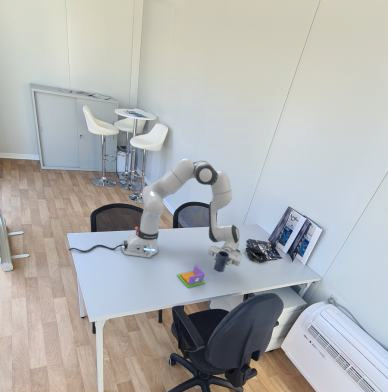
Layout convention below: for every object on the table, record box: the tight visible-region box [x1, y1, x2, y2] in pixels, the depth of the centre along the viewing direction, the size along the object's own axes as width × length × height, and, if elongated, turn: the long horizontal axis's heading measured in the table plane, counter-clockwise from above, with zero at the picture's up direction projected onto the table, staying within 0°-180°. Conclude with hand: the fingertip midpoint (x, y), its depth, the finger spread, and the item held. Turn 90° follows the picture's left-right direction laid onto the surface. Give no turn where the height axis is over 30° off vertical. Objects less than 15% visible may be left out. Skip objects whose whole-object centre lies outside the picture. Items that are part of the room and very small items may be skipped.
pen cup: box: [213, 251, 229, 273], centre depth 167 cm, size 6×6×10 cm
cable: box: [245, 246, 268, 263], centre depth 207 cm, size 17×14×4 cm
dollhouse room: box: [177, 264, 205, 288], centre depth 168 cm, size 12×12×7 cm
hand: (221, 261), depth 166 cm, fingers closed on pen cup, 6 cm apart
